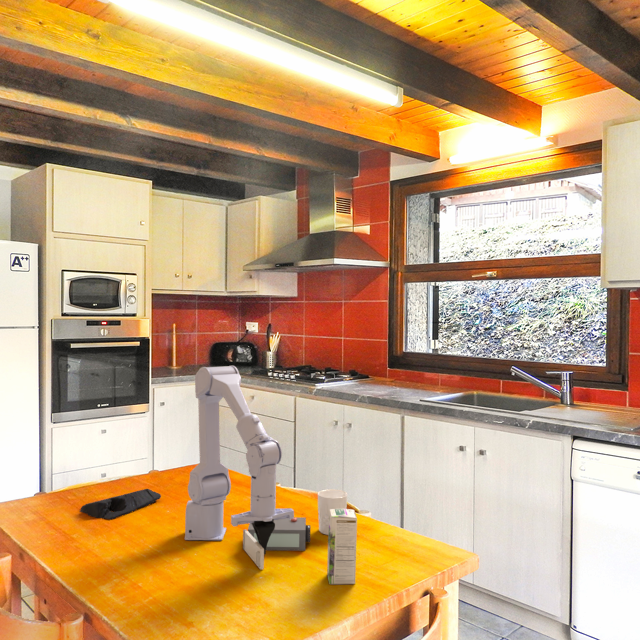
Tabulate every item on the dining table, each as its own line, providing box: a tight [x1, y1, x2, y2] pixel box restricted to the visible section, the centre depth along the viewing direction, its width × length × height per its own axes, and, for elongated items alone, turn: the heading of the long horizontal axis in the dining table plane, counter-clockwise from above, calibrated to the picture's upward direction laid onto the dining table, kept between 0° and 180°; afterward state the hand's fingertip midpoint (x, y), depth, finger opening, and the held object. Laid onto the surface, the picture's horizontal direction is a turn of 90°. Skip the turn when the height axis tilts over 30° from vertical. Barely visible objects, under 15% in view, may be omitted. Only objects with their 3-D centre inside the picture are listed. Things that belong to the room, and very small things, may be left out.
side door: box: [242, 529, 265, 570], centre depth 139 cm, size 13×1×5 cm, turn 24°
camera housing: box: [247, 516, 311, 552], centre depth 150 cm, size 15×9×6 cm, turn 91°
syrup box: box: [327, 508, 358, 585], centre depth 130 cm, size 6×6×14 cm
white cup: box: [317, 488, 348, 536], centre depth 159 cm, size 8×8×10 cm
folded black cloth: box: [79, 488, 162, 520], centre depth 176 cm, size 15×22×5 cm
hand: (262, 552), depth 137 cm, fingers closed
